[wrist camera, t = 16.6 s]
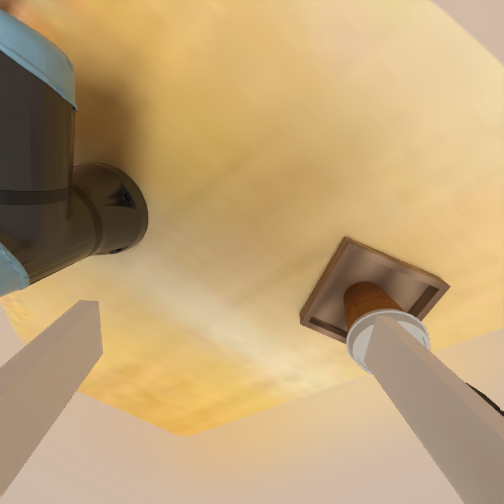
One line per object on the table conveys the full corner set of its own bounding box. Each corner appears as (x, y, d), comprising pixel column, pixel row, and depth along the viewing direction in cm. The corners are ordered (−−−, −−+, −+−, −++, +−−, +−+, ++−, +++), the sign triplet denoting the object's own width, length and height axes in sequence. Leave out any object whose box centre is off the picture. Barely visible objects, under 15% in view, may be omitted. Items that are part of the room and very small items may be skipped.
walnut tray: (299, 313, 44) (300, 324, 41) (344, 236, 38) (349, 242, 35) (380, 348, 44) (386, 361, 41) (439, 277, 38) (450, 286, 35)
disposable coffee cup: (400, 313, 40) (442, 372, 29) (343, 328, 43) (360, 386, 32) (386, 264, 38) (425, 307, 27) (325, 282, 40) (338, 328, 29)
